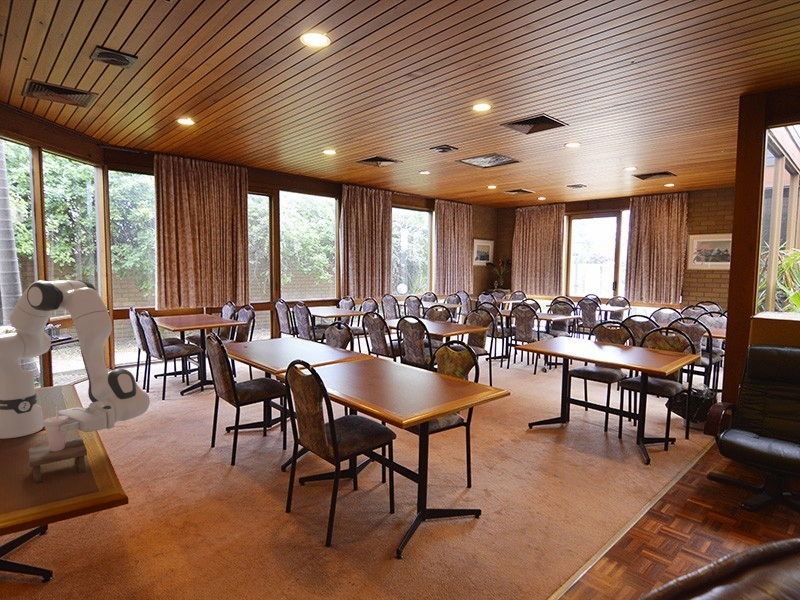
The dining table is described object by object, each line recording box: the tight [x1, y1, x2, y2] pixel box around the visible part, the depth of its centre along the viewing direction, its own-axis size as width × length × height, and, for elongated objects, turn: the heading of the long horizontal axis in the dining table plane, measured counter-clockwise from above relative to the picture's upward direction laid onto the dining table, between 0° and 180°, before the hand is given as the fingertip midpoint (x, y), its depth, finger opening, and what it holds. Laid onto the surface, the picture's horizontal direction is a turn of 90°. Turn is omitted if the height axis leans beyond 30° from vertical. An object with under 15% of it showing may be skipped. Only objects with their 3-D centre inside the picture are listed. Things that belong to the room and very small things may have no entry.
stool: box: [28, 437, 88, 484], centre depth 148 cm, size 14×14×7 cm
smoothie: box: [43, 404, 68, 451], centre depth 147 cm, size 6×6×14 cm
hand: (52, 426), depth 146 cm, fingers open, 8 cm apart
